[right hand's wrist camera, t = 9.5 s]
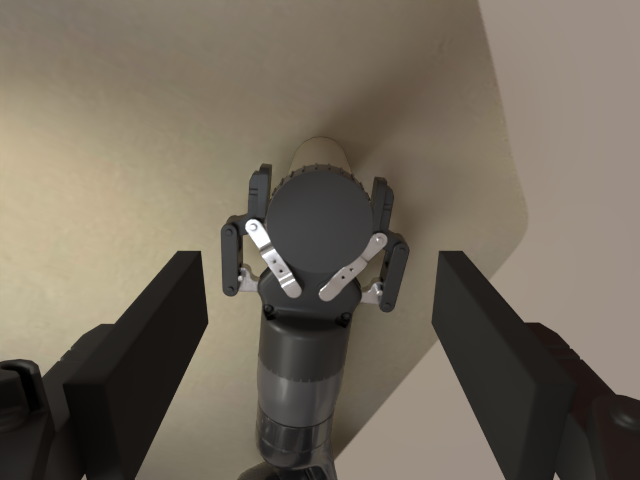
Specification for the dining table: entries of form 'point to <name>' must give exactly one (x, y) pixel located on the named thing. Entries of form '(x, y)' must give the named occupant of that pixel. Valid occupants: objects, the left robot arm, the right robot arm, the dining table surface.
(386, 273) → the left robot arm
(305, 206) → the lid
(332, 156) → the silver metal cylinder
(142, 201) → the dining table surface
